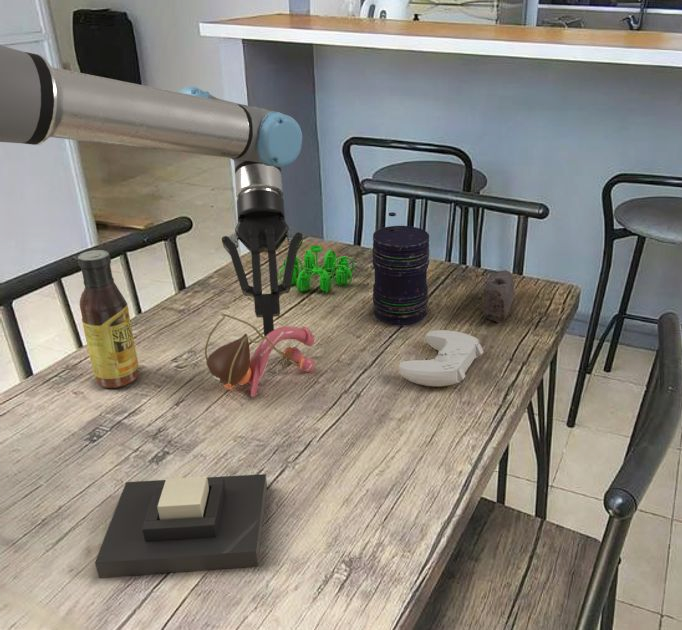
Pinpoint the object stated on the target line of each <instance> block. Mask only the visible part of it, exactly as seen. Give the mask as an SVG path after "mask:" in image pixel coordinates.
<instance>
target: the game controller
mask: <svg viewBox="0 0 682 630" xmlns="http://www.w3.org/2000/svg"><path fill="white" fill-rule="evenodd" d="M424 338H425V339H424V340H425V341H426V343H427V344H428V345H429V346H431V347H432V348H433V349H435V350H437V351H438V352H437V353H438V354H437V355H436V356H435V358H431V359H414V360H404V361H401V362H399V365H398V373H399V374H400V375H401V376H402V378H404V379H406V380H407V381H409V382H412V383H413V384H417V385H421V386H426V387H447V386H451V385H455V384H456V385H457V384H459V383H460V382H461V381H463V380H464V379H465V378H466V372H467V371H468V369H469V368H470V366H471V364H472V363H473V361H474V360H475V359H478V357H480V356H482V355H483V354H484V349H483V347H482V345H481V343H480V340H479V339H478V338H477V337H475V336H473V335H471V334H468V333H464V332H460V331H456V330H447V329H435V330H431V331H429V332H427V333H426V334H425V335H424Z"/></svg>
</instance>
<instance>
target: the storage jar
mask: <svg viewBox="0 0 682 630" xmlns="http://www.w3.org/2000/svg"><path fill="white" fill-rule="evenodd" d="M388 216H389V217H396V216H397V213H396V212H393V211H392V212H389V213H388ZM372 241H373V242H372V253H371V254H372V266H373V268H374V283H373V286H372V291H373V292H372V303H373V304H372V305H373V306H372V307H373V317H374V318H375V319H376V320H377V321H378V322H380V323H382V324H385V325H388V326H393V327H394V326H395V327H408V326H413V325H417V324H419V323H421V322H423V321H424V320H425V319H426V318H427V316H428V315H427V314H428V310H427V308H428V302H429V294H428V293H429V287H428V284H427V280H428V279H427V277H428V269H429V264H430V234H429V233H428V232H427V231H426V230H424V229H422V228H420V227H417V226H416V227H415V226H409V225H389V226H385V227H381V228H379V229H376V230H375V231H374V232H373V233H372Z"/></svg>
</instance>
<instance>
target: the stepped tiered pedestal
mask: <svg viewBox="0 0 682 630" xmlns="http://www.w3.org/2000/svg"><path fill="white" fill-rule="evenodd" d="M207 479H208V485H209V493H208V497H207V502H206V506H205V511H204V515H203V518H187V519H172V520H160V517H159V512H158V507H157V506H158V503H159V500H160V497H161V494H162V490H163V487H164V484H165V481H166V479H155V480H141V481H140V480H139V481H126V482H125V483H124V485H123V489H122V491H121V494H120V496H119V499H118V501H117V504H116V507H115V510H114V512H113V514H112V517H111V520H110V522H109V525H108V528H107V530H106V533H105V535H104V538H103V540H102V544H101V545H100V548H99V551H98V553H97V556H96V559H95V560H94V565H95V569H96V573H97V576H98V578H99V579H100V578H111V577H112V578H115V577H126V576H128V577H129V576H141V575H142V576H143V575H155V574H156V575H157V574H167V573H168V574H170V573H171V574H172V573H183V572H197V571H208V570H209V571H211V570H212V571H213V570H225V569H237V568H239V569H240V568H251V567H258V566H259V560H260V552H261V543H262V535H263V526H264V520H265V510H266V502H267V494H268V493H267V492H268V481H267V474H266V473H262V474H261V473H259V474H245V475H244V474H243V475H241V474H240V475H224V476H207Z"/></svg>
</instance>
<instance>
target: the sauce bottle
mask: <svg viewBox="0 0 682 630" xmlns="http://www.w3.org/2000/svg"><path fill="white" fill-rule="evenodd" d="M77 262H78V266H79V267H80V270H81V274H82V279H83V285H84V289H83V291H82V292H81V294H80V299H79V309H80V314H81V322H82V323H81V324H82V327H83V332H84V337H85V341H86V346H87V351H88V355H89V360H90V365H91V369H92V373H93V376H95V377H94V379H95V381H96V384H97V385H98V386H99V387H102V388H106V389H117V388H122V387H124V386H127V385H129V384H131V383H133V382H134V381H136V380H137V378H138V376H139V361H138V354H137V348H136V344H135V337H134V332H133V326H132V323H131V316H130V311H129V310H130V309H129V305H128V303H127V300H126V299H125V297H124V296H123V294H122V292H121V290H120V289H119V287H118V286H117V284H116V283H115V279H114V277H113V272H112V267H111V263H112V259H111V255H110V253H109V251H106V250H103V249H93V250H88V251H85V252H82V253H79V255H78V256H77Z"/></svg>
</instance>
